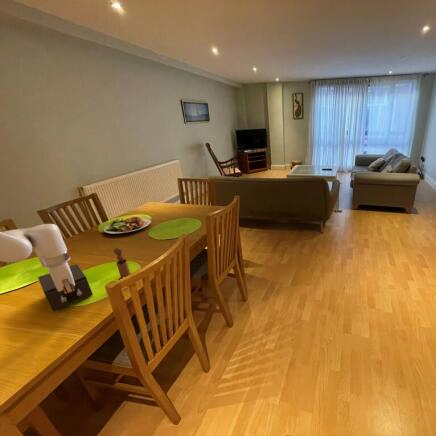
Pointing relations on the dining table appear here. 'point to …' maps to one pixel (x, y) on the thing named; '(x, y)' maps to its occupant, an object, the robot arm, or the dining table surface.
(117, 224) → the plate of food
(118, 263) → the wooden pepper mill
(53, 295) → the drawer
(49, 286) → the dark grey cabinet
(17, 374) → the dining table surface
